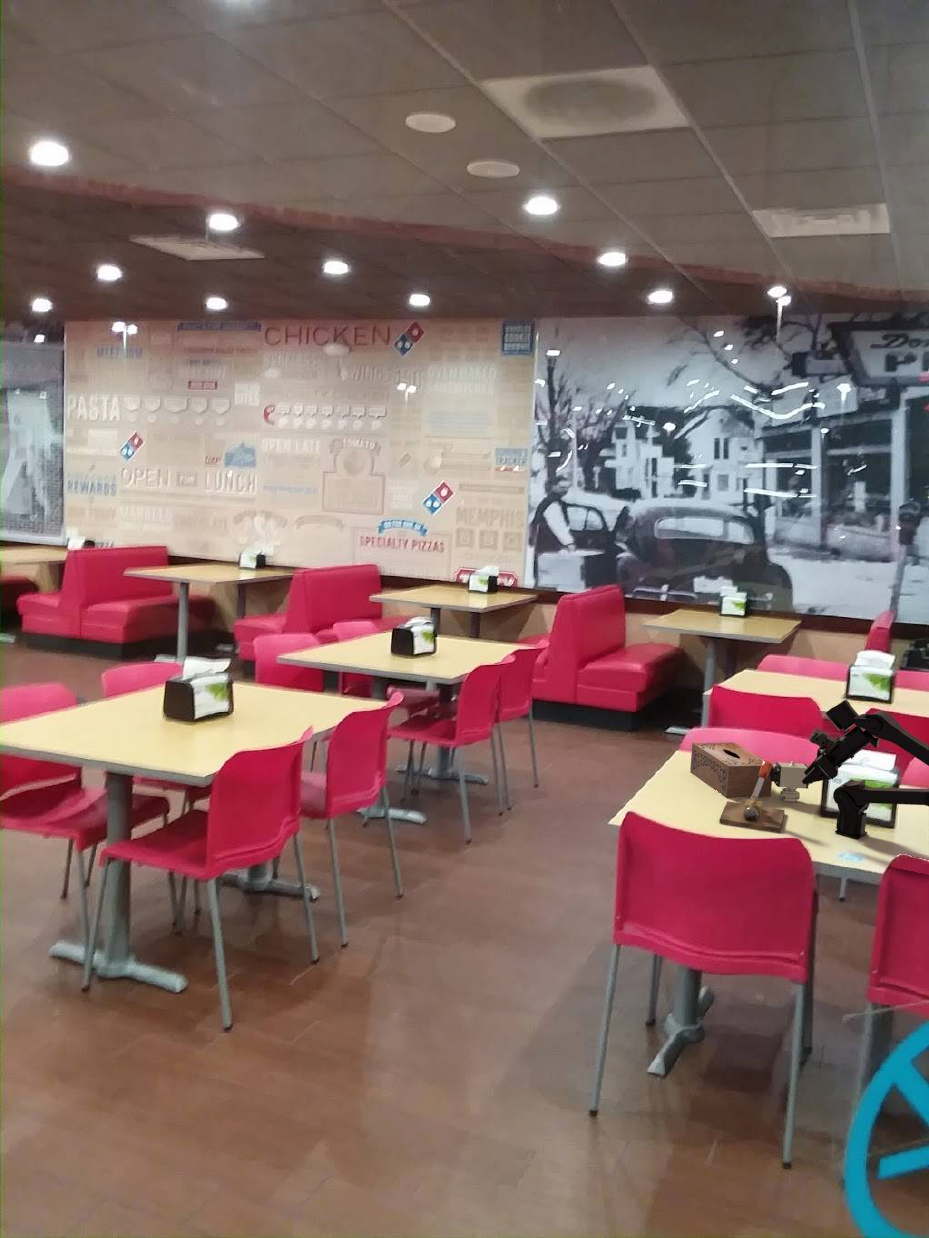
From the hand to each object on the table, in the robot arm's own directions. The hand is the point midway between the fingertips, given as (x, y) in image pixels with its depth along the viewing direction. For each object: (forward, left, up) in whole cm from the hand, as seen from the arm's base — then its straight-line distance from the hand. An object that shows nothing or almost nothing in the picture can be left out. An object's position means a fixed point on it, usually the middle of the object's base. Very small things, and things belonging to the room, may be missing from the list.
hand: (803, 778), depth 281 cm
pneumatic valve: (+13, -19, -14) cm, 27 cm away
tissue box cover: (+33, -19, -14) cm, 40 cm away
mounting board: (+12, +5, -13) cm, 19 cm away
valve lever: (+12, +5, -8) cm, 15 cm away
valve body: (+12, +5, -13) cm, 19 cm away
